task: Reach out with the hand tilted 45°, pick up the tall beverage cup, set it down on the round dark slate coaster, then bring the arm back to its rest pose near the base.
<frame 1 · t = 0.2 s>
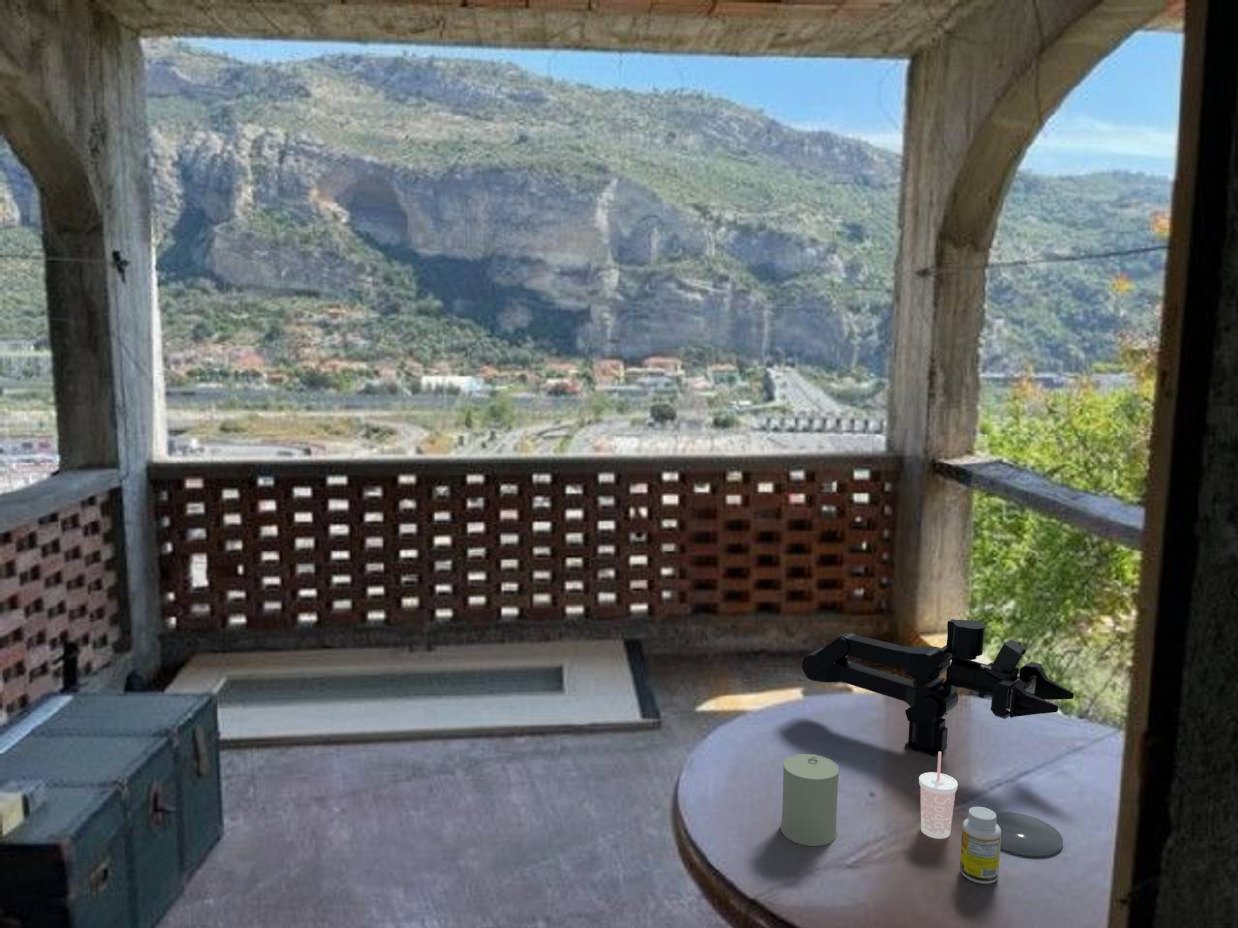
hand: (1065, 702, 166), 17 cm above the table, tool horizontal, fingers open, 9 cm apart
can: (808, 832, 154), on the table
beverage cup: (935, 832, 154), on the table
supplement bottle: (978, 876, 141), on the table
coaster: (1019, 835, 153), on the table
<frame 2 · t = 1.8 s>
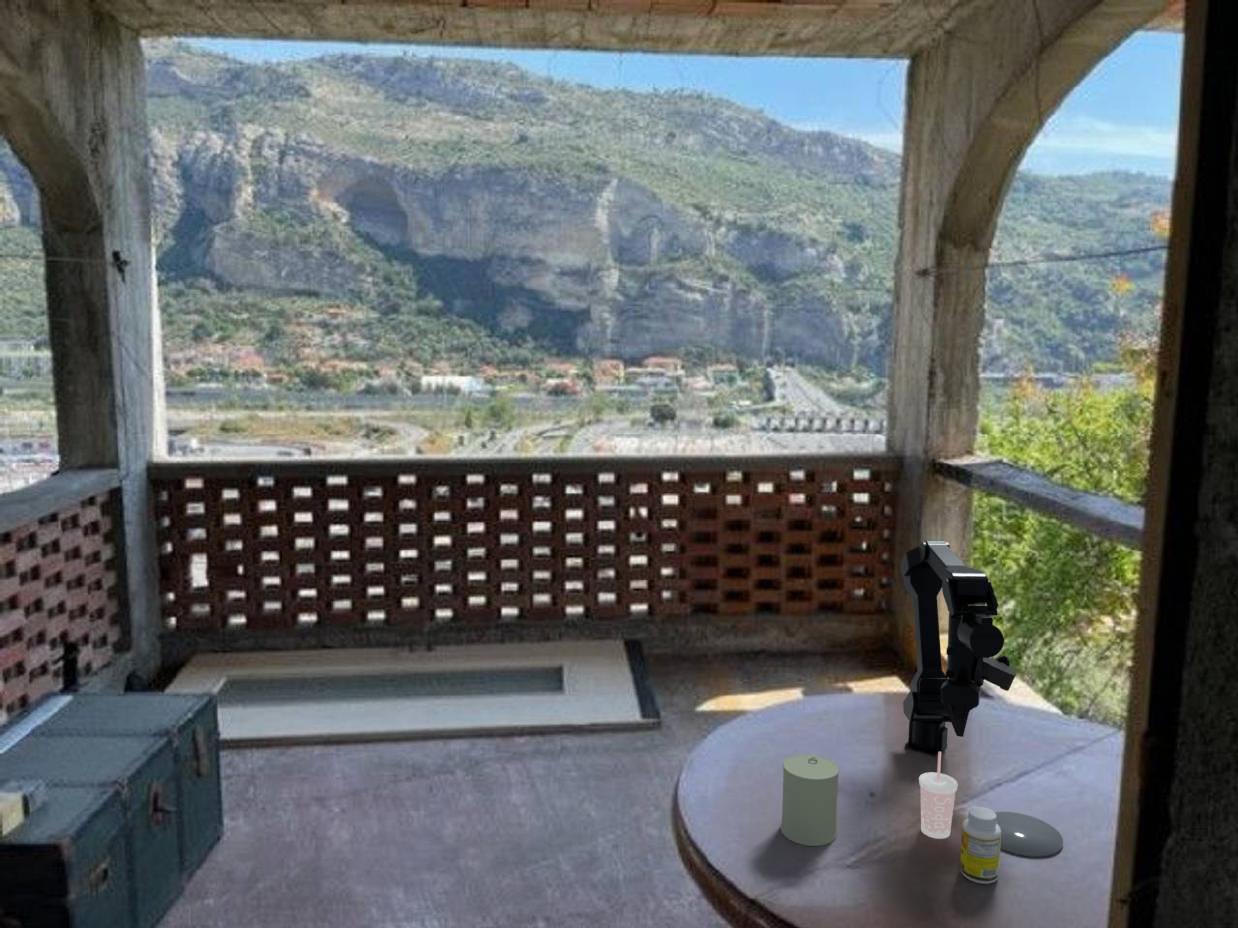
hand: (962, 727, 165), 13 cm above the table, tool pointing down, fingers open, 9 cm apart
nothing on the table moved.
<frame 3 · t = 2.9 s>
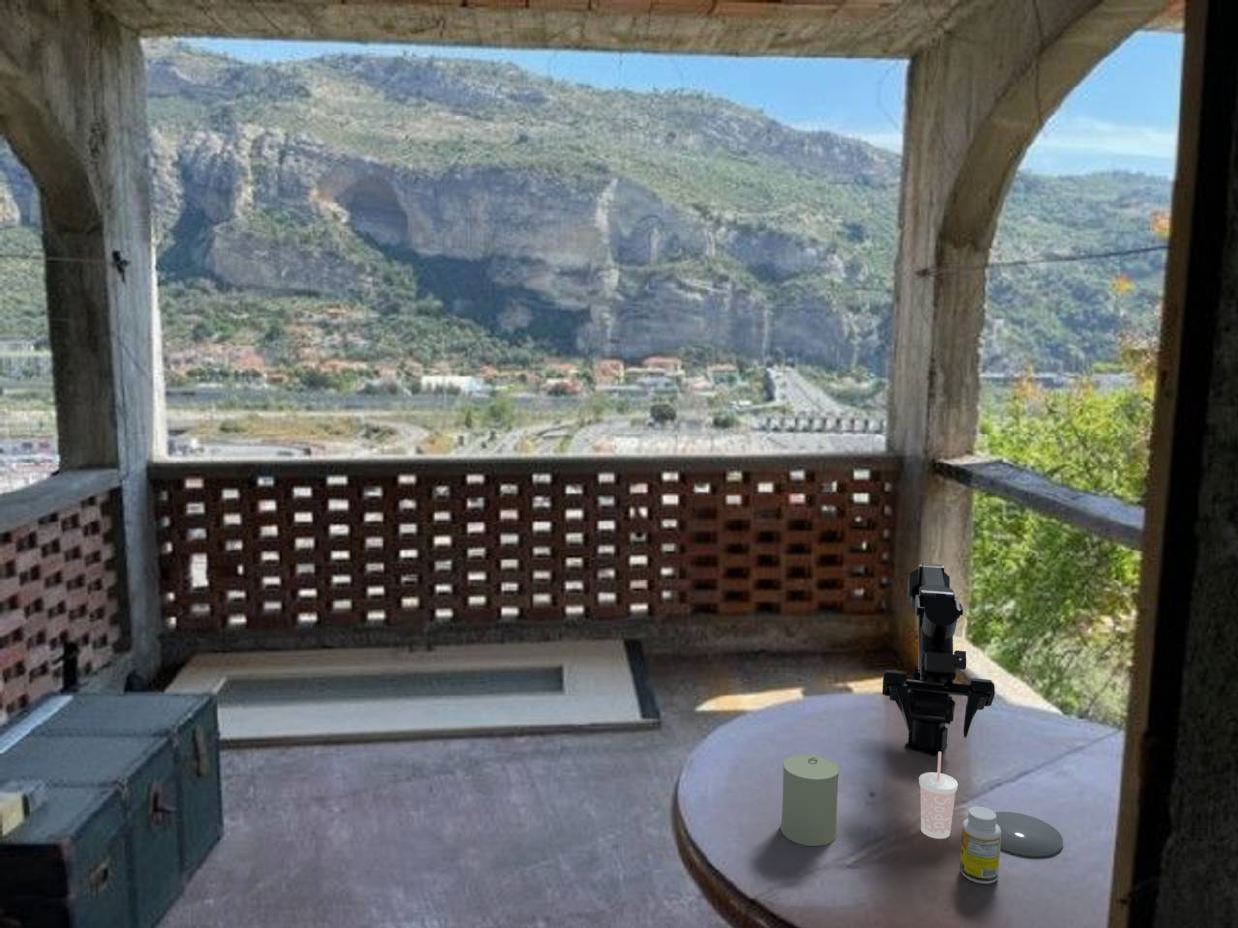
hand: (937, 733, 160), 13 cm above the table, tool tilted 45°, fingers open, 9 cm apart
nothing on the table moved.
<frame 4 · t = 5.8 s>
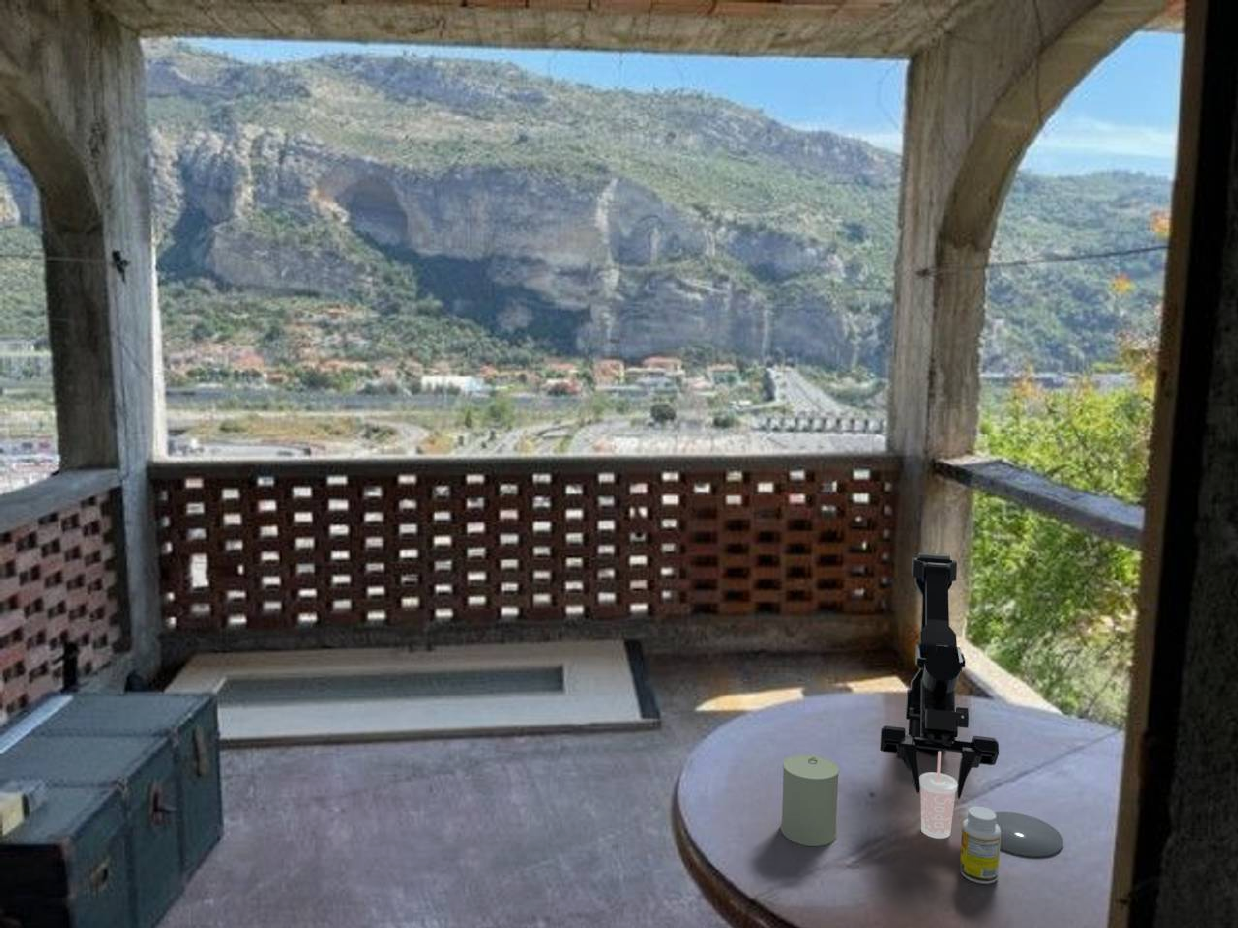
hand: (938, 795, 151), 7 cm above the table, tool tilted 45°, fingers closed on beverage cup, 6 cm apart
beverage cup: (935, 832, 154), on the table, touching gripper
everything else where it was.
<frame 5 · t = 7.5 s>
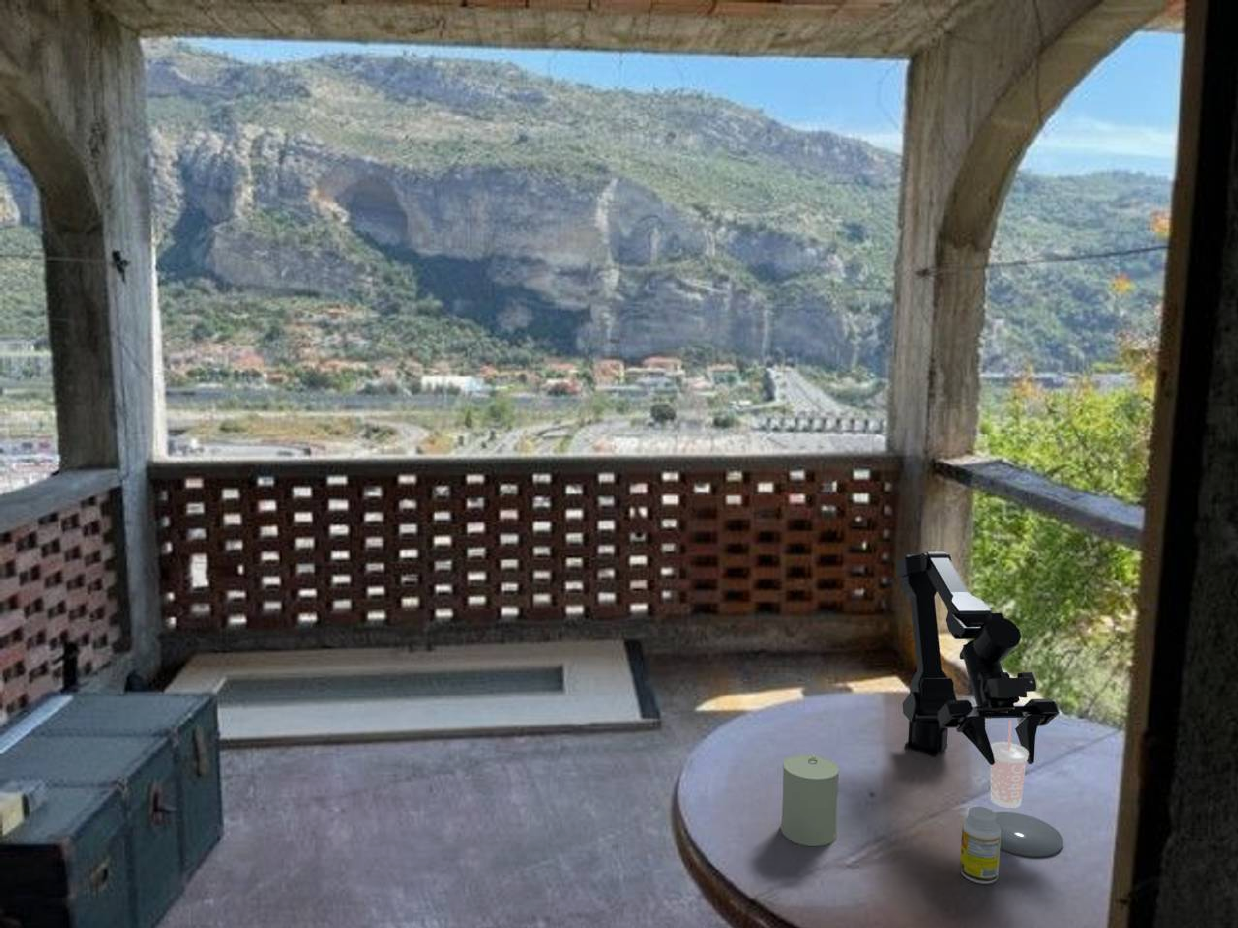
hand: (1012, 763, 149), 13 cm above the table, tool tilted 45°, fingers closed on beverage cup, 6 cm apart
beverage cup: (1005, 802, 152), point 6 cm above the table, touching gripper
everything else where it was.
when the fingers open (9 cm above the table, at t = 9.2 s): beverage cup stays where it is, resting on coaster.
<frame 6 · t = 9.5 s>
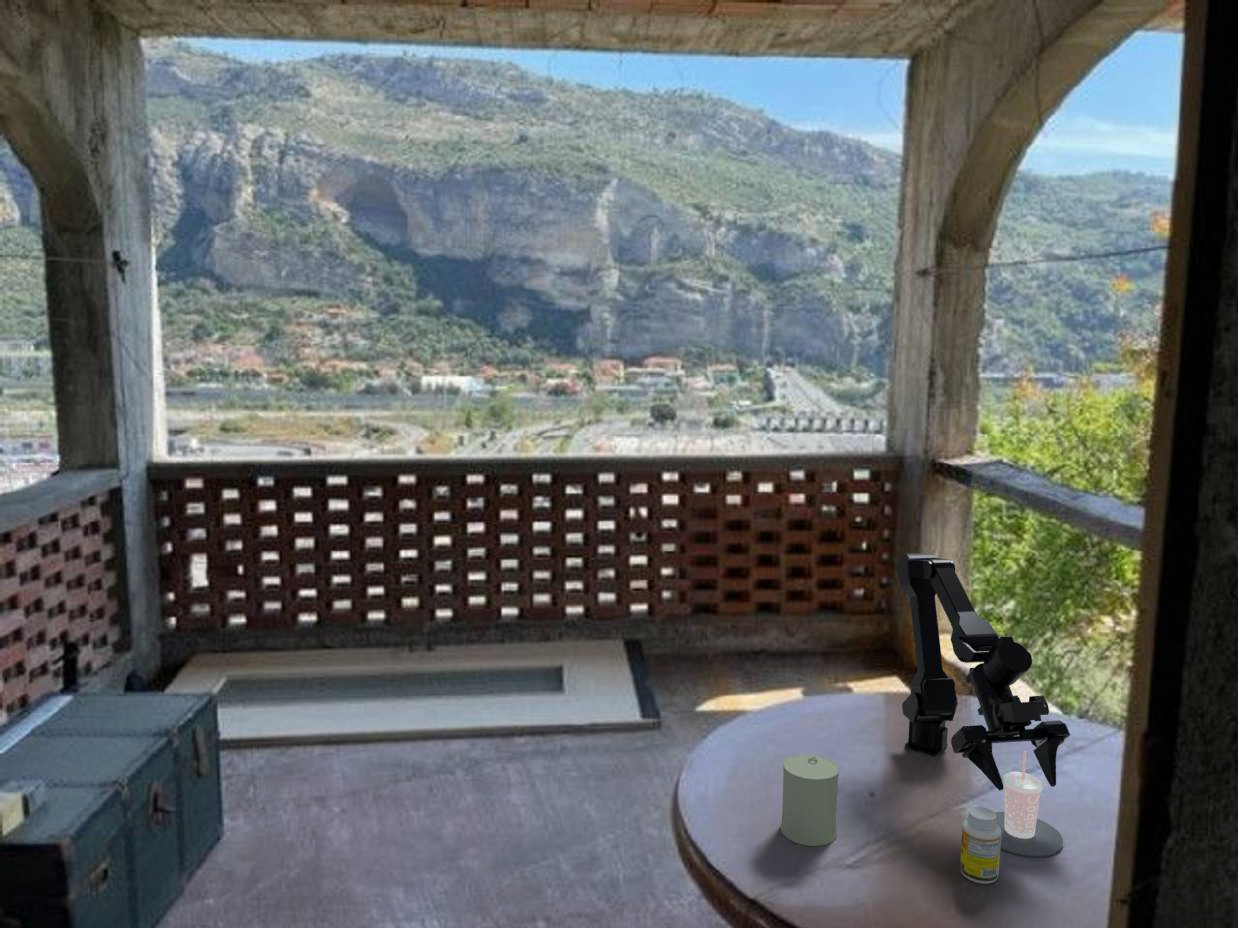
hand: (1027, 787, 150), 9 cm above the table, tool tilted 45°, fingers open, 9 cm apart
beverage cup: (1019, 832, 153), resting on coaster
everything else where it was.
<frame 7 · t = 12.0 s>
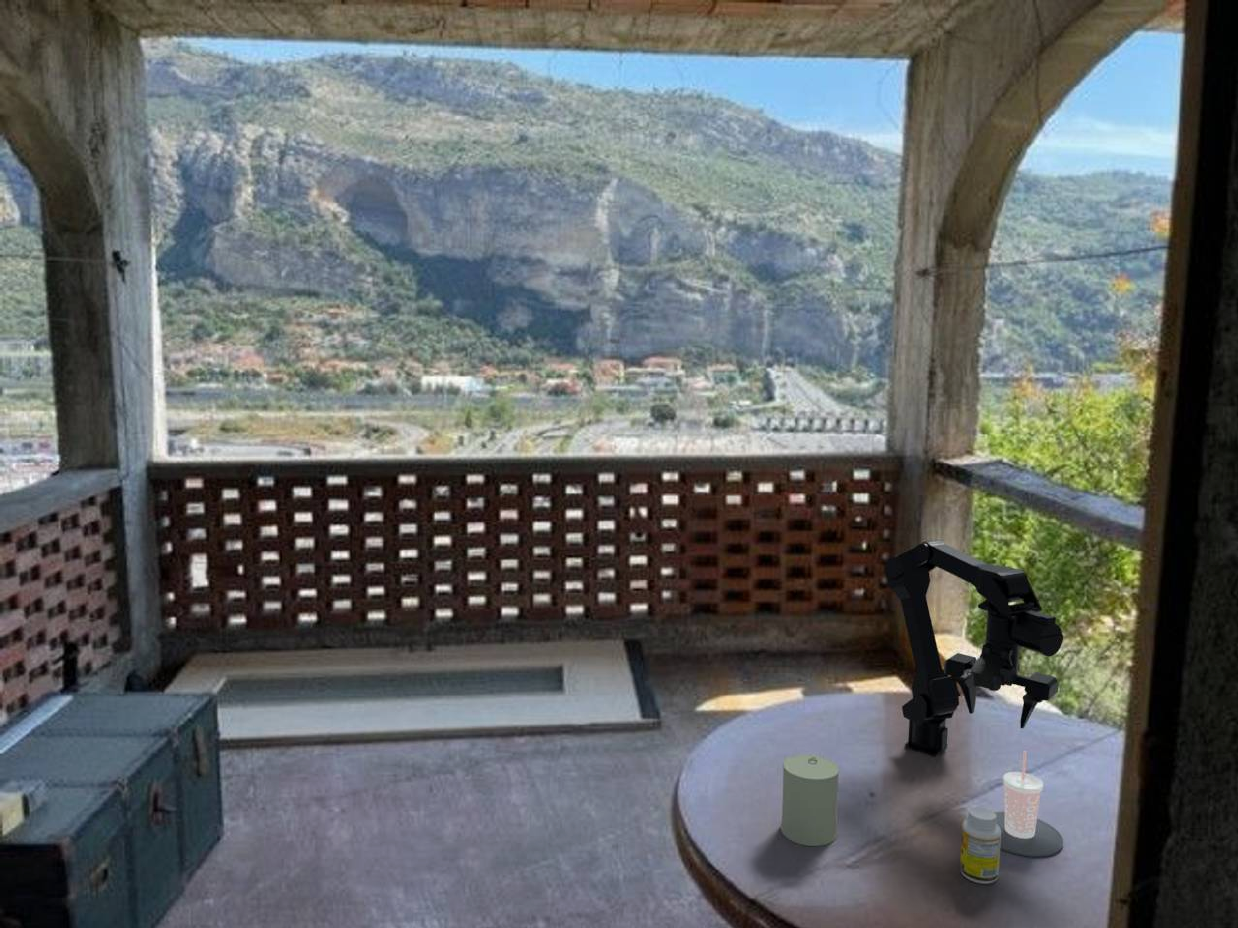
hand: (996, 720, 169), 12 cm above the table, tool pointing down, fingers open, 9 cm apart
nothing on the table moved.
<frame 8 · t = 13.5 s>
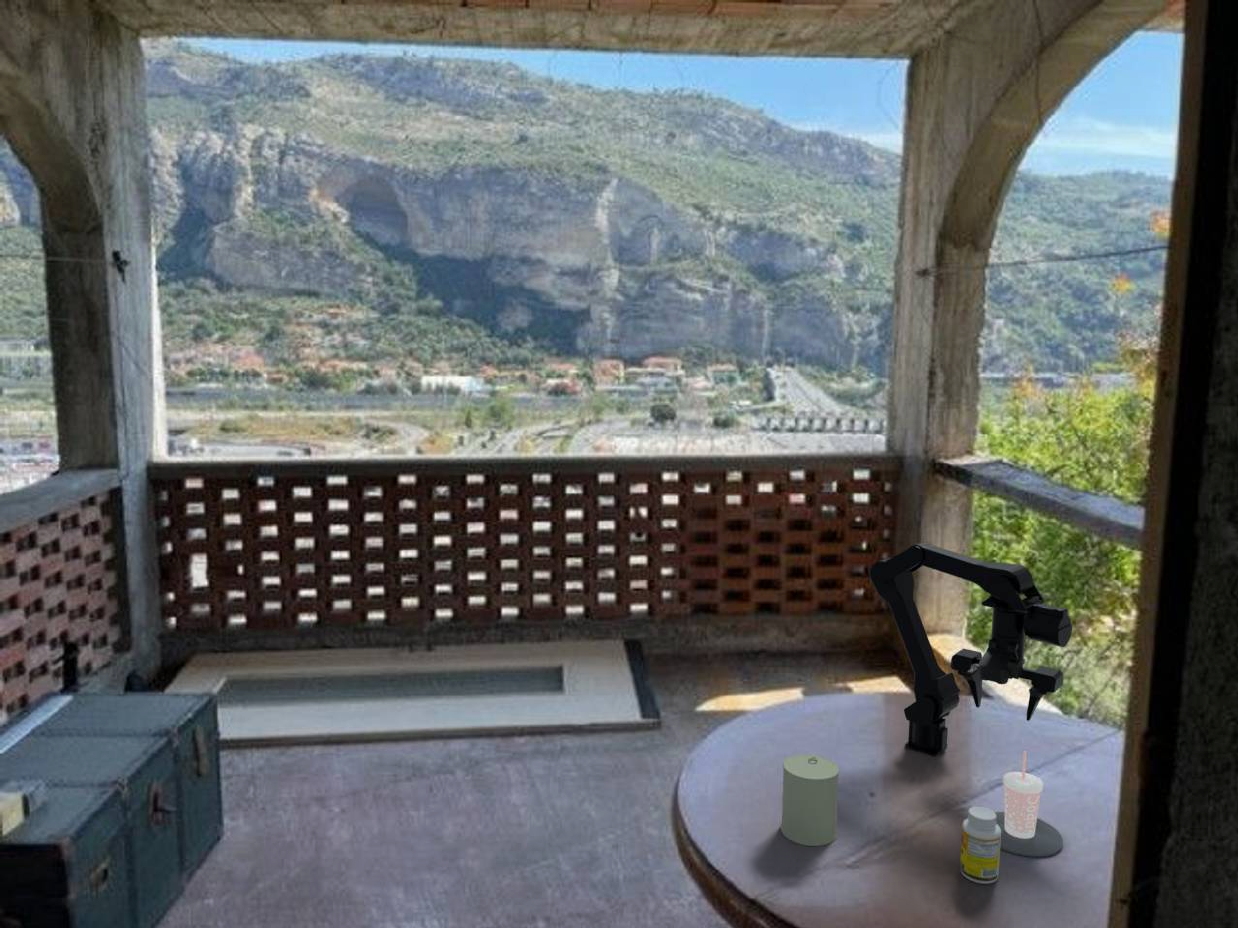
hand: (1002, 713, 173), 12 cm above the table, tool pointing down, fingers open, 9 cm apart
nothing on the table moved.
at the end: beverage cup 0.2 cm from the coaster (horizontally); beverage cup tilted 0°; the gripper is holding nothing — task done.
